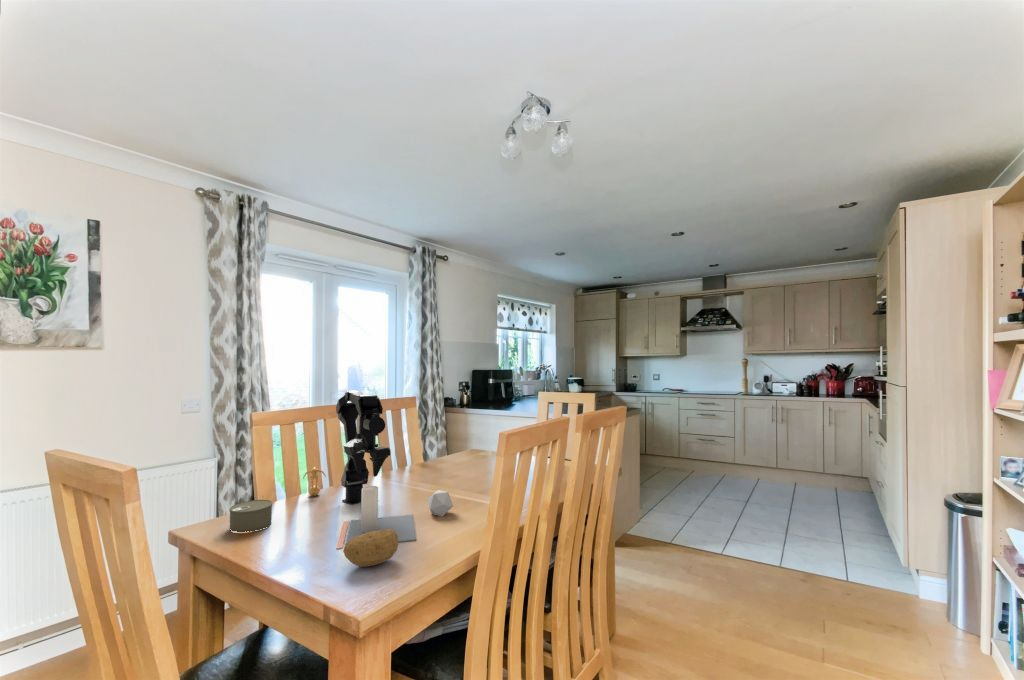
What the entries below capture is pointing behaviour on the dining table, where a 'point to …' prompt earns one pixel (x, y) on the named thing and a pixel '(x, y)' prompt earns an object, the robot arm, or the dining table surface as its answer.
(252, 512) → the can
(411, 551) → the dining table surface
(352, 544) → the potato
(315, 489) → the figurine
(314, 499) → the dining table surface
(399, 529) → the mat
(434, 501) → the die
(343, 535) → the strip
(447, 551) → the dining table surface
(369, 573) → the dining table surface
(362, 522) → the cream teardrop shape
